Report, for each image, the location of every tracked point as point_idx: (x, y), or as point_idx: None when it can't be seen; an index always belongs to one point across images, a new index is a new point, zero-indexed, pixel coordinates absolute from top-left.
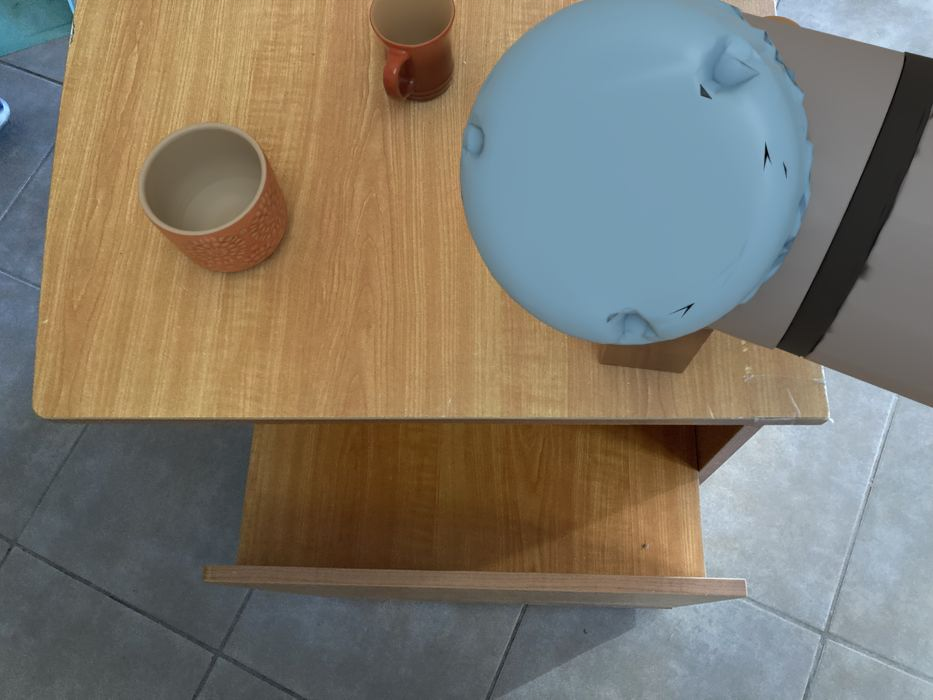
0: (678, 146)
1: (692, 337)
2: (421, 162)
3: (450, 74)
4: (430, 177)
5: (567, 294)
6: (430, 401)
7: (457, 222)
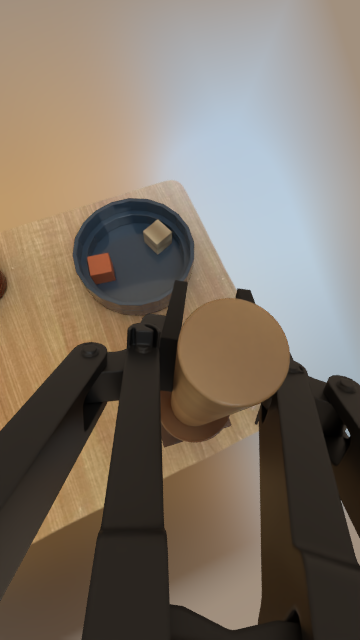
0: None
1: None
2: (5, 345)
3: (1, 282)
4: (15, 354)
5: None
6: (67, 515)
7: (43, 378)
